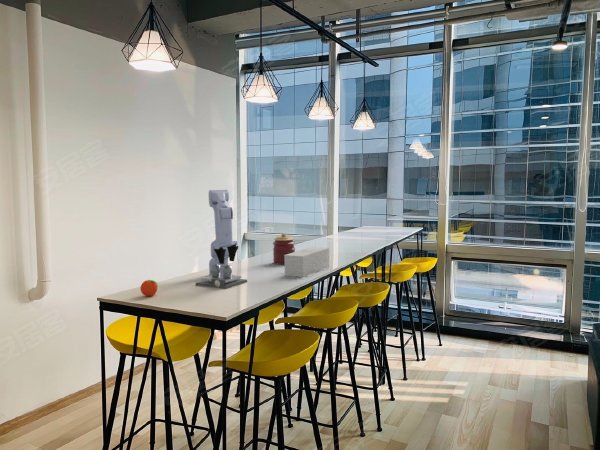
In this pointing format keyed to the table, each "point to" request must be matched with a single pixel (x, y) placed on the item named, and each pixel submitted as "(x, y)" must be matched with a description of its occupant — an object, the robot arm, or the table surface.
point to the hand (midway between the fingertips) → (226, 262)
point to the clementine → (149, 287)
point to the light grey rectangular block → (306, 261)
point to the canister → (282, 248)
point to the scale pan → (221, 278)
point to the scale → (221, 283)
